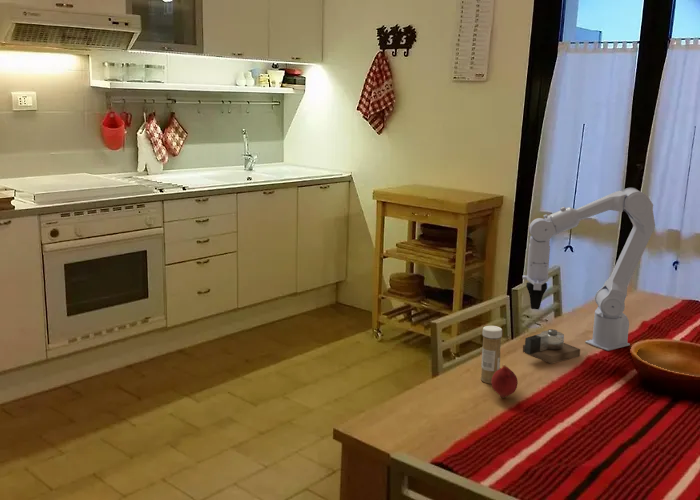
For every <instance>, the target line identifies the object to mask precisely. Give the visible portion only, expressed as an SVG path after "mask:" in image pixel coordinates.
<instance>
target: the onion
mask: <svg viewBox="0 0 700 500" xmlns="http://www.w3.org/2000/svg"><path fill="white" fill-rule="evenodd" d="M490 385H491V387H492V388H493V390H494V391H495V392H496V393H497V394H498V395H499V396H500V397H501V398H503V399H505V398H507V397H508V396H511V395H512V394H513V393H515V392H516V390H517V388H518V378H517V375H516V374H515V373H514V371H513V370H511V369H510V368H509V367H508V366H507V365H506V364H505V363H502V367H500V369H499V370H497V371H496V372H495V373H494V375H493V377H492V380H491V384H490Z"/></svg>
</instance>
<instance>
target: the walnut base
mask: <svg viewBox="0 0 700 500" xmlns="http://www.w3.org/2000/svg"><path fill="white" fill-rule="evenodd" d="M524 352H525V344H523V345H522V353H524ZM528 355H529V356H531V357H533V358H536V359H538V360H541V361H543V362H546V363H548V364H550V365H551V364H555V363H559V362H562V361H566V360H570V359H574V358H579V357H580V356H581V348H578V347H576V346H573V345H571V344H567V343H566V342H564V343H563V348H562V349H546V350H543V351H540V352H536V353H533V354H528Z"/></svg>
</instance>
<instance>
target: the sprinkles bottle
mask: <svg viewBox="0 0 700 500" xmlns="http://www.w3.org/2000/svg"><path fill="white" fill-rule="evenodd" d="M482 337H483V338H482V347H481V349H482V350H481V365H480V367H481V373H480V380H481V381H482V382H484V383H485V384H490V385H492V384H491V380H492V377H493V375H494V373H495V372H496V371H497V370H499V369H500V368H501V367H500V366H501V340H502V337H503V329H502V328H501V327H499V326H496V325H486V326H484V327H483V328H482Z"/></svg>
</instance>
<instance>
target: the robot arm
mask: <svg viewBox="0 0 700 500" xmlns="http://www.w3.org/2000/svg"><path fill="white" fill-rule="evenodd" d="M653 209H654V204H653V202H652V201H651V199H650V198H649V196H648V195H647V194H646V193H644V192H643V191H640V190H638V189H637V188H636V187H627V188H624V189H623V190H616V191H614V192H612V193H609V194H607V195H605V196H602V197H600V198H598V199H596V200H594V201H591V202H588V203H586V204H584V205H582V206H580V207H578V208H573V207H570V206H567V207H565V206H562V207H560V210H558V211H555V212H553V213H551V214H543V218H541V217H537V218H534V219H533V220H532V221H531V222H530V224H529V226H528V232H529V234H530V236H529V244H528V253H527V268H526V269H527V270H526V275H525V274H524V275H522V280H526V281H527V282H526V285H525V286H526V289H527V291H528V296H529V302H530V309H532V310H540V308H541V305H542V300H543V297H544V295H545V293H546V291H547V289H548V284H547V282H549V269H550V268H549V266H550V252H551V251H550V250H551V246H550V244H551V243H550V240H551V239H552V237H553V235H554V236H555V235H558V234H561V233H564V232H566V231H569V230H571V229H574V228H576V227H578V226H579V224H580V222H581V221H582V220H584V219H587V218H591V217H593V216H596V215H600V214H602V213H604V212H608V211H614V212H620V213H621V212H622V213H623V212H625V213H626V214H627V215H628V218H629V220H630V222H631V223H632V229H631V231H630V232H629V234H628V237H627V239H626V241H625V244H624V246H623V248H622V250H621V252H620V254H619V256H618V259H617V260H616V263H615V265H614V267H613V269H612V272H611V274H610V276H609V278H608V279H606V280H605V282H604V283H603V286H601V288H599V289H598V290H597V292H596V293H595V296H594V301H595V304H596V305H597V308H596V309H595V310H594V315H593V316H594V319H593V327H592V328H593V329H592V339H588V340H585V344H587V345H591V346H594V347H596V348H598V349H602V350H605V351H607V352H610V351H613V350H616V349H620V348H624V347H628V346H630V345H631V344H630V342H628V339H629V338H628V337H629V328H630V320H629V318H628V316H627V315H626V314H625V313H624V311H625V301H626V298H627V296H628V285H630V284H629V283H630V281H631V279H632V278H633V275H634V273H635V270H636V268H637V267H638V264H639V263H640V260H641V258H642V256H643V254H644V252H645V249H646V248H647V245H648V244H649V242H650V239H651V237H652V235H653V233H654V231H655V228H656V222H655V216H654V215H655V214H654V211H653Z"/></svg>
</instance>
